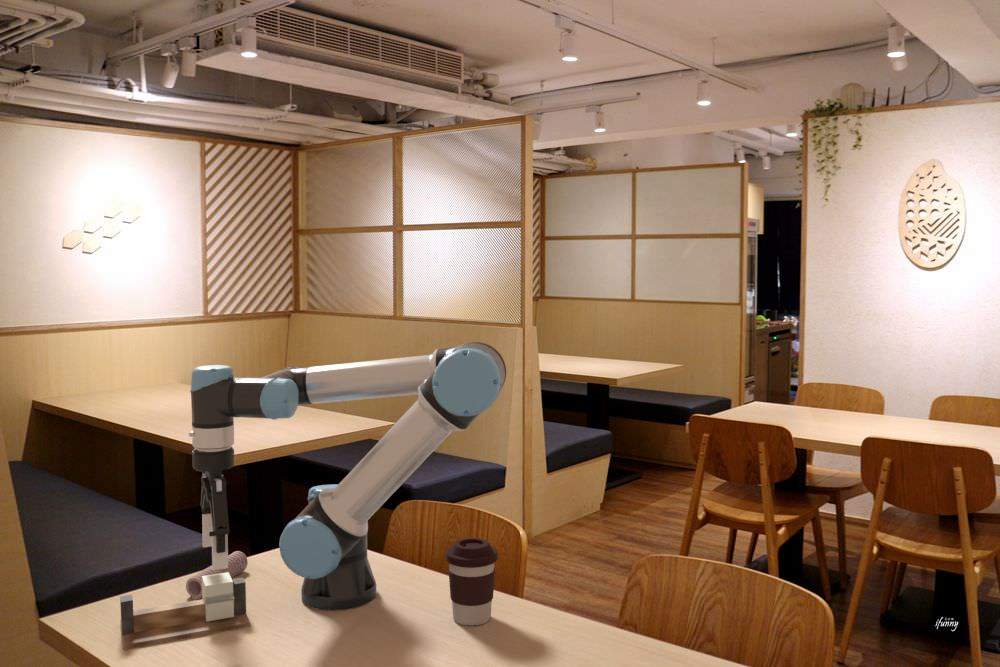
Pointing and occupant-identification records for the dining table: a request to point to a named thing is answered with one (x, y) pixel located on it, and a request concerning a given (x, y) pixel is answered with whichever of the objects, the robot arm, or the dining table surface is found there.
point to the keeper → (218, 596)
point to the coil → (235, 566)
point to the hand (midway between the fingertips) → (215, 557)
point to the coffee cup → (471, 580)
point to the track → (184, 631)
